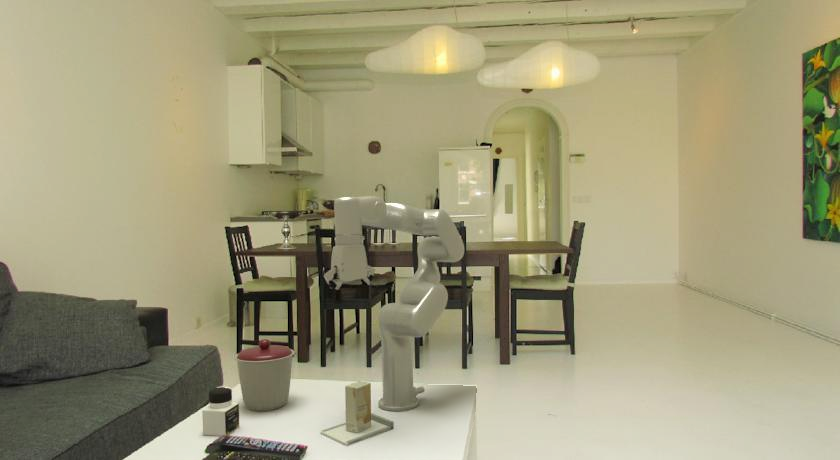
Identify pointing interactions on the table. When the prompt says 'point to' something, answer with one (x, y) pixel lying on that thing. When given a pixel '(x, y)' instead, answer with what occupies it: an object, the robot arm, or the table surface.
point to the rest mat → (350, 437)
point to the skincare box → (358, 406)
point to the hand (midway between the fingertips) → (351, 300)
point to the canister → (265, 375)
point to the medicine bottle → (220, 413)
